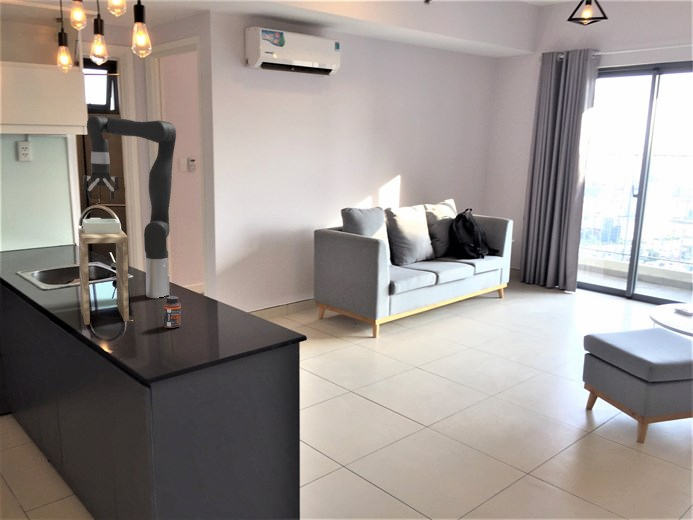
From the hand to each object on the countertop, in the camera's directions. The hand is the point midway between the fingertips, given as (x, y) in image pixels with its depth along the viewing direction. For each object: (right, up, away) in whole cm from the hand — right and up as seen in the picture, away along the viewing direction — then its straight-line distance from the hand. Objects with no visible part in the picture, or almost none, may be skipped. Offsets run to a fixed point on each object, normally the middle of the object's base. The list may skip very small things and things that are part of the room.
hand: (101, 199), depth 257 cm
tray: (+11, -14, -29) cm, 34 cm away
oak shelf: (+16, -48, -34) cm, 61 cm away
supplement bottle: (+45, -52, -45) cm, 82 cm away
